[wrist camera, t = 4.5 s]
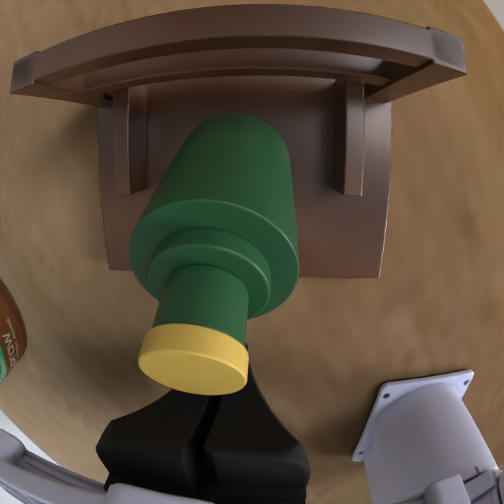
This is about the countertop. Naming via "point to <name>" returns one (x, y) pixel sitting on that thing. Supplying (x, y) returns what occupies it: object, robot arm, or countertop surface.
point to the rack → (253, 109)
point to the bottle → (215, 252)
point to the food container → (10, 332)
